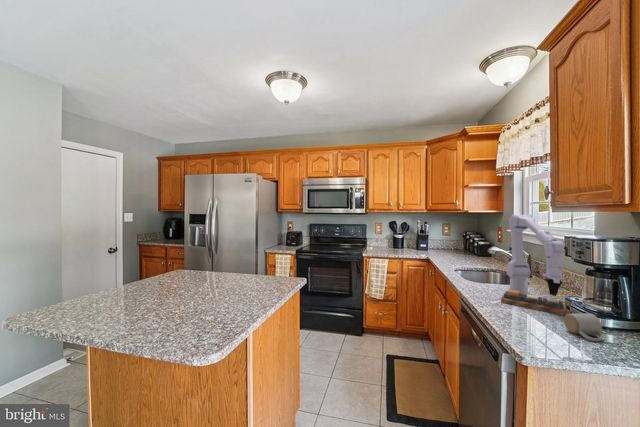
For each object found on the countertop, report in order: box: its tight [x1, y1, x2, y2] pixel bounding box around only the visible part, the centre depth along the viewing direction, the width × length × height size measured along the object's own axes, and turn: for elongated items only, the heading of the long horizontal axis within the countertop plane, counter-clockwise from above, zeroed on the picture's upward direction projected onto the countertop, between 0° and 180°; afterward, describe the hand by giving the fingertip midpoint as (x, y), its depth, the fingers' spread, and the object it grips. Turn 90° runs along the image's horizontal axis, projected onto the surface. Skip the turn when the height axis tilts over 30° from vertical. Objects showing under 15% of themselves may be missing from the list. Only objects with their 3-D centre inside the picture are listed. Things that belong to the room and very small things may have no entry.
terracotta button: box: [507, 288, 520, 296], centre depth 136 cm, size 4×4×2 cm
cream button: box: [527, 294, 540, 300], centre depth 131 cm, size 4×4×2 cm
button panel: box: [500, 290, 567, 317], centre depth 131 cm, size 24×12×4 cm, turn 49°
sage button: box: [546, 297, 560, 304], centre depth 126 cm, size 4×4×2 cm
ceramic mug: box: [563, 313, 603, 343], centre depth 100 cm, size 11×8×8 cm
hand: (553, 295), depth 126 cm, fingers closed
